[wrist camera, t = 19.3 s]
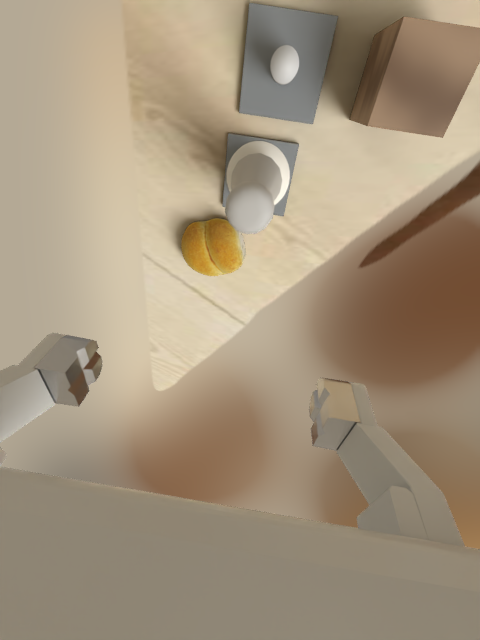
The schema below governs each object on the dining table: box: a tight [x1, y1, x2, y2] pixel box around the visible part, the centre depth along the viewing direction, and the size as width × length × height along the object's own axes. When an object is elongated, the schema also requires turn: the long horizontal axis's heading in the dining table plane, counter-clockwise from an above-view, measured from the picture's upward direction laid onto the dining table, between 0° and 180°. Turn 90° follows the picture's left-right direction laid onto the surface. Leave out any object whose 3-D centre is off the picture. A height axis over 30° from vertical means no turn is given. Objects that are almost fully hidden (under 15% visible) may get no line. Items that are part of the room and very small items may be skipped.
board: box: [239, 3, 338, 124], centre depth 26 cm, size 8×8×6 cm
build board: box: [223, 133, 299, 216], centre depth 34 cm, size 8×8×1 cm
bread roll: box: [181, 218, 246, 276], centre depth 39 cm, size 8×9×4 cm
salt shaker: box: [225, 153, 282, 234], centre depth 29 cm, size 6×6×13 cm
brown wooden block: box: [349, 17, 480, 138], centre depth 25 cm, size 6×6×8 cm
